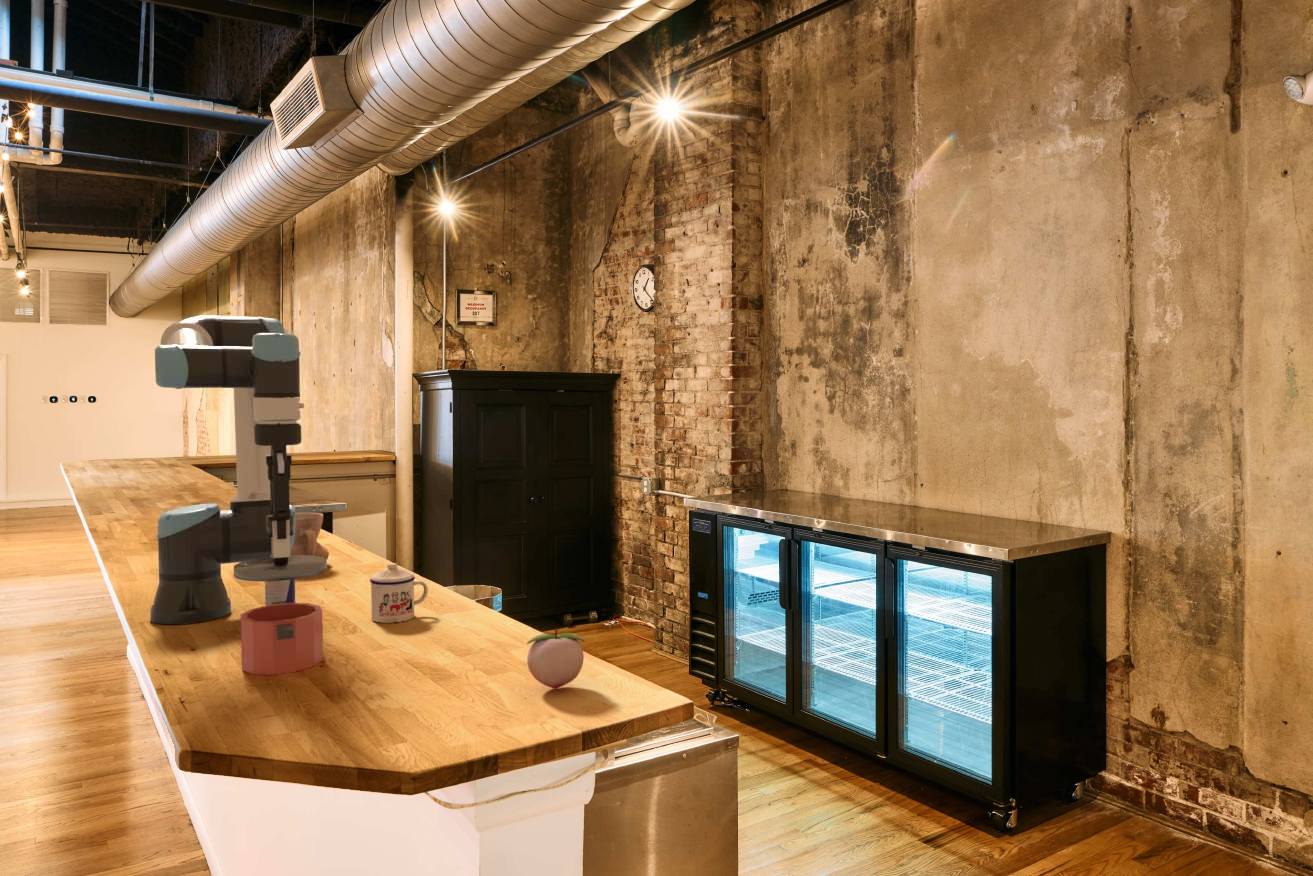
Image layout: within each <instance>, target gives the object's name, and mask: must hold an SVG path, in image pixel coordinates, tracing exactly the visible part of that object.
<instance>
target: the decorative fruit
mask: <svg viewBox="0 0 1313 876" xmlns="http://www.w3.org/2000/svg"><path fill="white" fill-rule="evenodd" d="M554 631H555V633H554V635H553V634H549V633H542V634H538V635H535V636H533V638H531V639H530V640H528V642H527V643H526V645H529V644H531V643H532V644H531V645H530V647H529V649H528V653H527V659H526V660H527V667H528V670H529V672H530V674H531V675H532V677H533V678H534V679H535V680H536V681H538V683H540V684H542V685H543V686H546V687H548V688H551V689H554V688H558V689H559V688H560V687H563V686H566V685H567V684H569V683H571V682H573V681H574V680H575V679H576V678H577V677H578V675H579V674H580V672H581V670H582V667H583V664H584V655H585V654H584V650H583V647H582V644H581V643H580V642H579V641H581V642H583V643H585V642H586V641H585V640H584V638H582V637H581V636H580V635H578V634H575V633H572V632H563V633H560V634H558V628H557V627H556V628H555V630H554Z"/></svg>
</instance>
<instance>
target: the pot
mask: <svg viewBox="0 0 1313 876" xmlns="http://www.w3.org/2000/svg"><path fill="white" fill-rule="evenodd" d="M240 638H241V640H240V642H241V643H240V644H241V647H240V648H241V649H240V650H241V668H242V669H241V670H243V672H245V671H246V673H249V674H253V675H265V674H266V675H271V676H272V675H273V676H274V675H281V674H282V673H283V674H288V673H295V672H296V671H297V672H300V671H303V670H306V669H310V668H312V666H313V667H315V666H317V665H318V664H319V663H321V662H322V661H324V647H323V646H324V640H323V639H324V638H323V610H322V607H321V605H318V604H313V603H308V602H295V603H286V601H278V602H271V605H267V606H266V605H264V606H258V607H254V608H251V609H248V610H247V611H245V612H242V613H240ZM320 661H321V662H320ZM317 663H318V664H317ZM309 667H310V668H309ZM305 668H306V669H305ZM302 669H303V670H302ZM299 670H300V671H299ZM297 672H296V673H297Z"/></svg>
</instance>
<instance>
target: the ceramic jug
mask: <svg viewBox="0 0 1313 876" xmlns="http://www.w3.org/2000/svg"><path fill="white" fill-rule="evenodd" d="M295 517H296V525H295V535H294V541H293V546H292V549H291V552H290V555H312V556H319V557H323V558H325V559H326V560H328V558H329V556H330V553H329V550H328V549H327V548H326V547H325V546H324V545H322V544H320V543H319V542H318V541H317V539H318V537H319V535H320V532H321V530H322V525H323V522H324V514H323V513H321V512H320V513H319V512H296V516H295Z"/></svg>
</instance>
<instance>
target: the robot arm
mask: <svg viewBox="0 0 1313 876" xmlns="http://www.w3.org/2000/svg"><path fill="white" fill-rule="evenodd" d="M299 342H300V341H299V338H298V337H297V335H295V334H292V333H286V330H285V328H284V324H283V323H282V322H281V321H280V320H279V319H277V318H272V317H270V318H269V317H261V316H241V315H238V316H237V315H231V316H230V315H214V314H213V315H212V314H211V315H209V314H208V315H207V314H206V315H205V314H203V315H198V316H191V317H187V318H184V319H181V320H178V321H175V322H174V323H173V324H171V325H170V326H168V327H166V329H165V330H164V331H163V333H162V335H161V339H160V345H158V346H156V348H155V349H154V370H155V371H154V372H155V383H156V385H157V386H158V387H160V388H166V389H167V388H170V389H176V390H181V389H215V388H217V389H219V388H220V389H225V388H226V389H233V404H234V405H233V408H234V433H235V434H234V435H235V458H236V459H235V460H236V461H235V463H236V464H235V465H236V486H237V487H236V489H237V492H236V494H235V495H234V496H233V497H232V498H231V499H230V500H229V509H221V507H220V506H219V504H218V503H213V502H212V503H202V504H201V503H200V504H195V505H194V504H193V505H188V506H182V507H179V508H175V509H171V510H168V511H166V512H163V513H162V514H161V515H160V516H159V517H158V520H157V534H156V535H155V536H156V539H157V547H158V548H157V549H158V550H157V551H158V553H157V555H158V560H157V561H158V585H157V588H156V591H155V595H154V599H153V604H152V605H151V607H150V610H149V611H150V613H149V614H150V621H151V622H152V623H155V624H161V625H163V624H164V625H185V624H187V625H188V624H194V623H202V622H206V621H211V620H217V619H219V618H222V617H224V616H227V615H229V614H230V613H231V612H232V603H231V598H230V597H229V596H228V592H227V589H226V587H225V583H224V582H223V578H222V572H221V571H222V568H221V567H222V566H221V565H223V564H234V563H236V564H238V563H240V562H243V561H247V560H251V559H256V558H263V557H271V556H273V558H282V557H290V552H291V549H292V546H293V541H294V535H295V525H296V517H295V516H296V513H297V511H296V507H295V506H294V505H292V504H290V481H291V474H292V473H291V465H292V462H293V461H292V455H290V454H287V451H288V450H287V446H296V445H297V446H298V445H299V444H302V425H301V424H300V423H298V421H300V420H301V410H300V409H304V408H305V404H304V403H303V402H301V387H300V386H301V385H300V384H301V380H300V379H301V376H300V368H301V367H300V362H301V361H300V357H301V351H300V343H299ZM272 514H273V517H269V521H272V529H273V537H267V528H266V516H267V515H272ZM291 514H293V515H294V535H292V536H290V520H289V518H290V515H291Z"/></svg>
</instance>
